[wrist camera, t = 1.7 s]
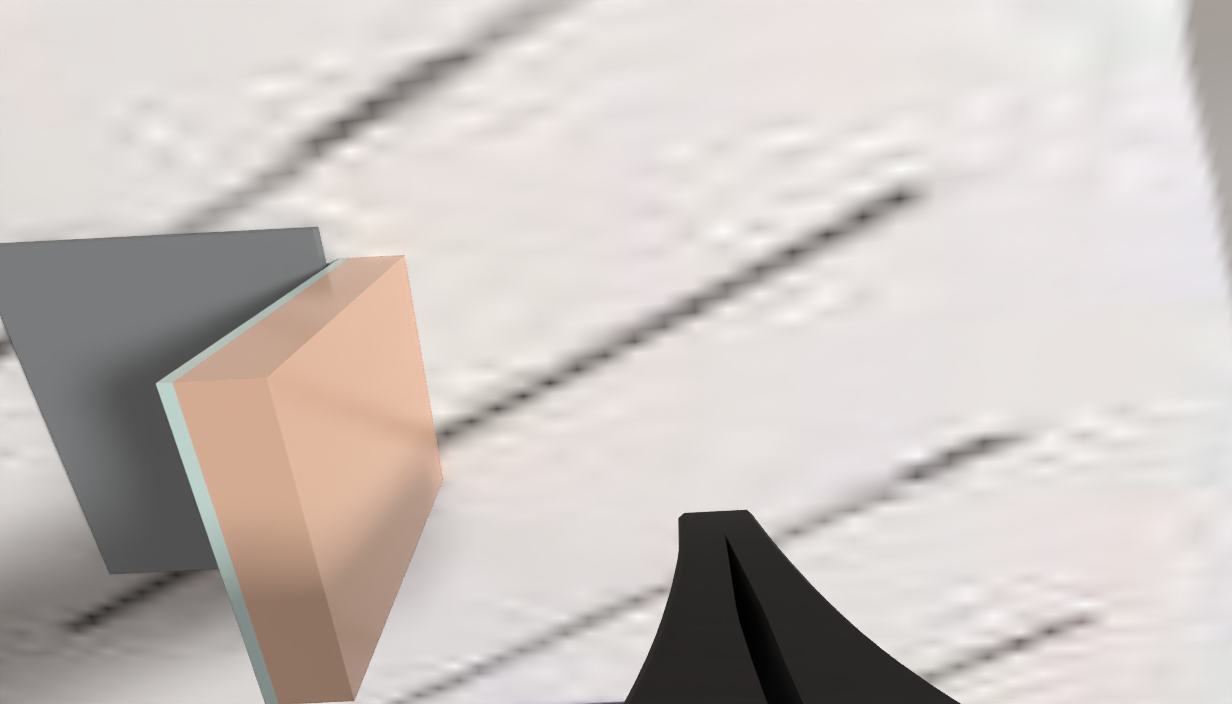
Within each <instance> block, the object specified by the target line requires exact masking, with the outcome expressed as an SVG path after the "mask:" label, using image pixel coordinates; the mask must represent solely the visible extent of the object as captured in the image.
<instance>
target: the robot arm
mask: <svg viewBox="0 0 1232 704" xmlns="http://www.w3.org/2000/svg"><path fill="white" fill-rule="evenodd" d="M678 522H679V553H678V560H677V565H676V569H675V574H674V578H673V583H672V587H671V591H670V594H669V597H668V601H667V604H666V607H665V610H664V614H663V617H662V620H661V623H660V625H659V628H658V631H657V634H656V636H655V639H654V641H653V644H652V646H651V648H650V651H649V653H648V656H647V658H646V660H645V662H644V664H643V666H642V668H641V671H640V673H639V675H638V677H637V679H636V681H635V683H634V685H633V687H632V689H631V691H630V693H629V695H628V696H627V698H626V700H625V702H624V704H960V703H959V702H957V701H955V700H954V699H952V698H951V697H949V696H948V695H946V694H945V693H943V692H941V691H940V690H938V689H937V688H935V687H934V686H932V685H931V684H929V683H928V682H927V681H925V680H924V679H922V678H921V677H919V676H918V675H917V674H915V673H914V672H912V671H911V670H909V669H908V668H907V667H905V666H904V665H902V664H901V663H899V662H898V661H897V660H895V659H894V658H893V657H891V656H890V655H889V654H887V653H886V652H885V651H884V650H882V649H881V648H880V647H879V646H877V645H876V644H875V643H874V642H873V641H871V640H870V639H869V638H868V637H866V636H865V635H864V634H863V633H862V632H860V631H859V630H858V629H857V628H856V627H855V626H854V625H853V624H851V623H850V622H849V621H848V620H847V619H846V618H845V617H844V616H843V615H842V614H841V613H840V612H838V611H837V610H836V609H835V608H834V607H833V606H832V605H831V604H830V603H829V602H828V601H827V600H826V599H825V598H824V597H823V596H822V595H821V594H820V593H819V592H818V591H817V590H816V589H815V588H814V587H813V586H812V585H811V584H810V583H809V581H808V580H807V579H806V578H805V577H804V576H803V575H802V574H801V573H800V572H799V571H798V570H797V568H796V567H795V566H794V565H793V564H792V563H791V562H790V561H789V560H788V558H787V557H786V556H785V555H784V554H783V553H782V551H781V550H780V549H779V548H778V547H777V545H776V544H775V543H774V542H773V541H772V539H771V538H770V537H769V536H768V534H767V533H766V532H765V531H764V529H763V528H762V527H761V525H760V524H759V523H758V522H757V520H756V519H755V518H754V516H753V515H752V514H751V513H750V512H749V511H748V510H734V511H715V512H695V513H684V514H683V515H682V516H680V517H679V518H678Z"/></svg>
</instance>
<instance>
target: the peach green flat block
mask: <svg viewBox="0 0 1232 704" xmlns="http://www.w3.org/2000/svg"><path fill="white" fill-rule="evenodd" d="M156 386H157V389H158V392H159V395H160V398H161V400H162V403H163V406H164V409H165V412H166V415H167V418H168V421H169V424H170V427H171V430H172V433H173V436H174V439H175V441H176V444H177V447H178V450H179V453H180V456H181V459H182V462H183V465H184V468H185V471H186V474H187V477H188V479H189V482H190V485H191V488H192V491H193V494H194V497H195V500H196V503H197V506H198V509H199V512H200V515H201V518H202V520H203V523H204V526H205V529H206V532H207V535H208V538H209V541H210V544H211V547H212V550H213V553H214V556H215V558H216V561H217V564H218V567H219V570H220V573H221V576H222V579H223V582H224V585H225V588H226V591H227V594H228V597H229V599H230V602H231V605H232V608H233V611H234V614H235V617H236V620H237V623H238V626H239V629H240V632H241V635H242V637H243V640H244V643H245V646H246V649H247V652H248V655H249V658H250V661H251V664H252V667H253V670H254V673H255V676H256V678H257V681H258V684H259V687H260V690H261V693H262V696H263V699H264V702H265V704H303V703H323V702H343V701H355V698H356V696H357V693H358V691H359V688H360V686H361V683H362V681H363V678H364V676H365V673H366V671H367V668H368V666H369V663H370V661H371V658H372V656H373V653H374V651H375V648H376V646H377V643H378V641H379V638H380V636H381V633H382V631H383V628H384V626H385V623H386V621H387V618H388V616H389V613H390V611H391V608H392V606H393V603H394V601H395V598H396V596H397V593H398V591H399V588H400V586H401V583H402V581H403V578H404V576H405V573H406V571H407V568H408V566H409V563H410V561H411V558H412V556H413V553H414V551H415V548H416V546H417V543H418V541H419V538H420V536H421V533H422V531H423V528H424V526H425V523H426V521H427V518H428V516H429V513H430V511H431V508H432V506H433V503H434V501H435V498H436V496H437V493H438V491H439V488H440V486H441V483H442V481H443V475H442V469H441V464H440V458H439V452H438V446H437V440H436V434H435V429H434V423H433V417H432V411H431V405H430V400H429V394H428V388H427V382H426V376H425V370H424V365H423V359H422V353H421V347H420V341H419V336H418V330H417V324H416V318H415V312H414V307H413V301H412V295H411V289H410V283H409V277H408V272H407V266H406V260H405V255H399V256H379V257H360V258H340V259H338V260H336V261H335V262H333V263H332V264H330V265H329V266H327V267H326V268H325V269H323V270H322V271H320V272H319V273H317V274H316V275H314V276H313V277H311V278H310V279H308V280H307V281H305V282H304V283H302V284H301V285H300V286H298V287H297V288H295V289H294V290H292V291H291V292H289V293H288V294H286V295H285V296H283V297H282V298H280V299H279V300H278V301H276V302H275V303H273V304H272V305H270V306H269V307H267V308H266V309H264V310H263V311H261V312H260V313H258V314H257V315H255V316H254V317H253V318H251V319H250V320H248V321H247V322H245V323H244V324H242V325H241V326H239V327H238V328H236V329H235V330H233V331H232V332H231V333H229V334H228V335H226V336H225V337H223V338H222V339H220V340H219V341H217V342H216V343H214V344H213V345H211V346H210V347H208V348H207V349H206V350H204V351H203V352H201V353H200V354H198V355H197V356H195V357H194V358H192V359H191V360H189V361H188V362H186V363H185V364H183V365H182V366H181V367H179V368H178V369H176V370H175V371H173V372H172V373H170V374H169V375H167V376H166V377H164V378H163V379H161V380H160V381H159V382H157V383H156Z"/></svg>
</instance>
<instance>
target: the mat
mask: <svg viewBox="0 0 1232 704" xmlns="http://www.w3.org/2000/svg"><path fill="white" fill-rule="evenodd" d="M326 267H327V265H326V260H325V256H324V251H323V247H322V242H321V237H320V233H319V228H318V227H306V228H287V229H268V230H248V231H229V232H210V233H190V234H171V235H152V236H132V237H113V238H94V239H74V240H55V241H36V242H16V243H0V315H1V317H2V320H3V322H4V324H5V327H6V329H7V331H8V334H9V336H10V339H11V341H12V343H13V346H14V348H15V350H16V353H17V355H18V358H19V360H20V362H21V365H22V367H23V369H24V372H25V374H26V377H27V379H28V381H29V384H30V386H31V388H32V391H33V393H34V396H35V398H36V400H37V403H38V405H39V407H40V410H41V412H42V414H43V417H44V419H45V422H46V424H47V426H48V429H49V431H50V433H51V436H52V438H53V441H54V443H55V445H56V448H57V450H58V452H59V455H60V457H61V460H62V462H63V464H64V467H65V469H66V471H67V474H68V476H69V479H70V481H71V483H72V486H73V488H74V490H75V493H76V495H77V498H78V500H79V502H80V505H81V507H82V509H83V512H84V514H85V517H86V519H87V521H88V524H89V526H90V528H91V531H92V533H93V536H94V538H95V540H96V543H97V545H98V547H99V550H100V552H101V555H102V557H103V559H104V562H105V564H106V566H107V569H108V571H109V574H124V573H144V572H164V571H183V570H203V569H219V567H218V564H217V561H216V558H215V556H214V553H213V550H212V547H211V544H210V541H209V538H208V535H207V532H206V529H205V526H204V523H203V520H202V518H201V515H200V512H199V509H198V506H197V503H196V500H195V497H194V494H193V491H192V488H191V485H190V482H189V479H188V477H187V474H186V471H185V468H184V465H183V462H182V459H181V456H180V453H179V450H178V447H177V444H176V441H175V439H174V436H173V433H172V430H171V427H170V424H169V421H168V418H167V415H166V412H165V409H164V406H163V403H162V400H161V398H160V395H159V392H158V389H157V386H156V383H157V382H159V381H160V380H161V379H163V378H164V377H166V376H167V375H169V374H170V373H172V372H173V371H175V370H176V369H178V368H179V367H181V366H182V365H183V364H185V363H186V362H188V361H189V360H191V359H192V358H194V357H195V356H197V355H198V354H200V353H201V352H203V351H204V350H206V349H207V348H208V347H210V346H211V345H213V344H214V343H216V342H217V341H219V340H220V339H222V338H223V337H225V336H226V335H228V334H229V333H231V332H232V331H233V330H235V329H236V328H238V327H239V326H241V325H242V324H244V323H245V322H247V321H248V320H250V319H251V318H253V317H254V316H255V315H257V314H258V313H260V312H261V311H263V310H264V309H266V308H267V307H269V306H270V305H272V304H273V303H275V302H276V301H278V300H279V299H280V298H282V297H283V296H285V295H286V294H288V293H289V292H291V291H292V290H294V289H295V288H297V287H298V286H300V285H301V284H302V283H304V282H305V281H307V280H308V279H310V278H311V277H313V276H314V275H316V274H317V273H319V272H320V271H322V270H323V269H325V268H326Z"/></svg>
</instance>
